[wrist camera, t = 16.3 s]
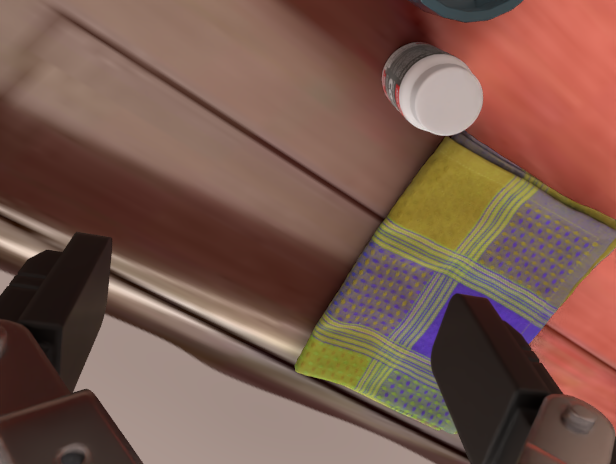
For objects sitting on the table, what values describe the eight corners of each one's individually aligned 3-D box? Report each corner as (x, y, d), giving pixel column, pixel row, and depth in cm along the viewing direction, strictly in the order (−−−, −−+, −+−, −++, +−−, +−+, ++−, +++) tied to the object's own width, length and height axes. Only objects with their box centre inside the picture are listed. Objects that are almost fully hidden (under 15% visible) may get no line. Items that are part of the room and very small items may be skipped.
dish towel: (282, 352, 50) (283, 373, 48) (457, 111, 43) (469, 120, 40) (442, 428, 55) (450, 450, 53) (624, 223, 47) (645, 238, 45)
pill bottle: (367, 74, 41) (391, 100, 34) (420, 26, 40) (457, 41, 32) (408, 123, 43) (440, 158, 35) (460, 78, 42) (504, 104, 34)
